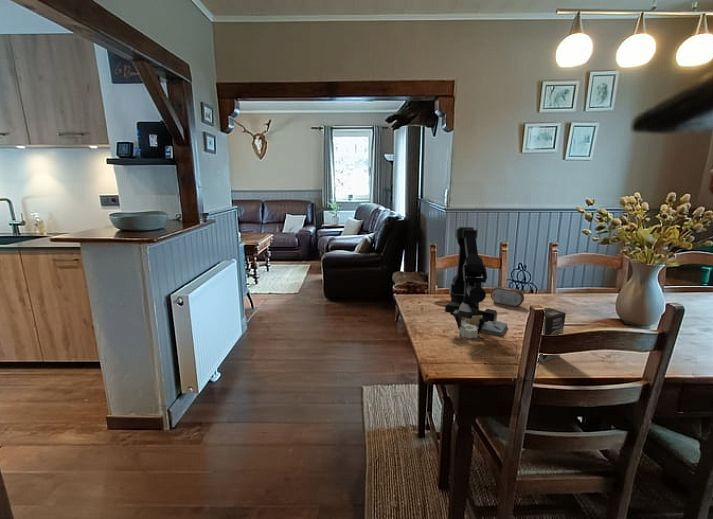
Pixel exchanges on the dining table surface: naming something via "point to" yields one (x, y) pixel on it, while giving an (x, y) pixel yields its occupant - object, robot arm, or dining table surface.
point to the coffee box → (552, 328)
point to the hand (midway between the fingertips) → (468, 331)
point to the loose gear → (468, 331)
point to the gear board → (487, 325)
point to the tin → (507, 296)
